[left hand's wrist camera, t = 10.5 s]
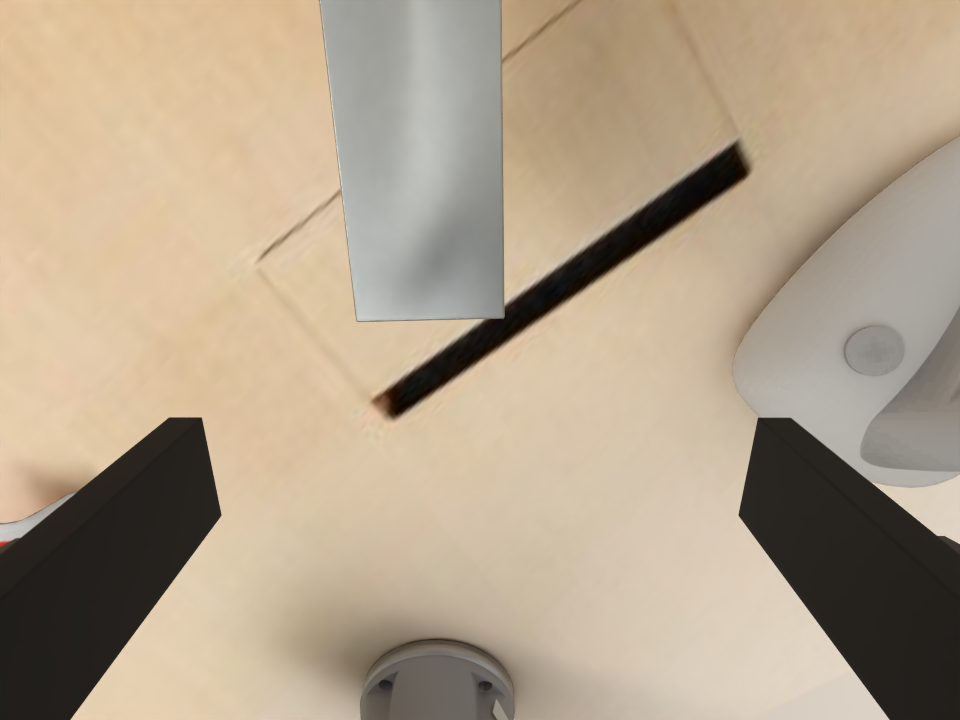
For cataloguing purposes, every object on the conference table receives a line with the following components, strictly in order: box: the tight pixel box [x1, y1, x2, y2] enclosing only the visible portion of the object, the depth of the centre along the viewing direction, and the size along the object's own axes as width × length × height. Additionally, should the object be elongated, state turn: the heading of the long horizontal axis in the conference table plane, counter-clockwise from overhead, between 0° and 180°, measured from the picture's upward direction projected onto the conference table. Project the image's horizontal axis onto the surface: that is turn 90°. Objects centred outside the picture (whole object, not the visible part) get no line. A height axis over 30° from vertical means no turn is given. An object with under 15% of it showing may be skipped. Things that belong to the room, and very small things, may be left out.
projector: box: [732, 136, 960, 488], centre depth 32 cm, size 22×23×15 cm
